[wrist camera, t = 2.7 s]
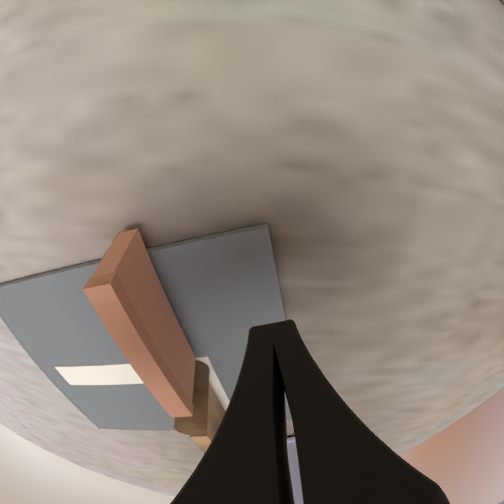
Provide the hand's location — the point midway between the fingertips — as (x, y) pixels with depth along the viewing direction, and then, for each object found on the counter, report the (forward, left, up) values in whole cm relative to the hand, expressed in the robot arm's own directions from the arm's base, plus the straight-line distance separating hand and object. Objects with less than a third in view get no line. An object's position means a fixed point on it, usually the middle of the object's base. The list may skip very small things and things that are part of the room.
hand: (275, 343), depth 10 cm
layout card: (-7, +9, -6) cm, 13 cm away
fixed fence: (-11, +5, -6) cm, 14 cm away
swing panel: (-2, +5, -5) cm, 8 cm away
